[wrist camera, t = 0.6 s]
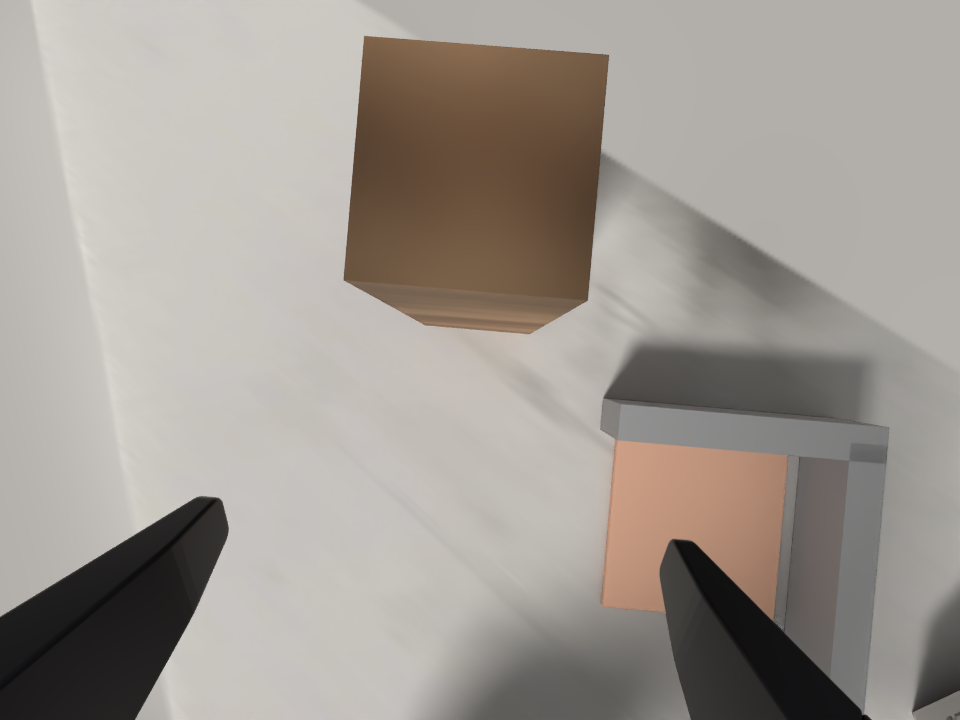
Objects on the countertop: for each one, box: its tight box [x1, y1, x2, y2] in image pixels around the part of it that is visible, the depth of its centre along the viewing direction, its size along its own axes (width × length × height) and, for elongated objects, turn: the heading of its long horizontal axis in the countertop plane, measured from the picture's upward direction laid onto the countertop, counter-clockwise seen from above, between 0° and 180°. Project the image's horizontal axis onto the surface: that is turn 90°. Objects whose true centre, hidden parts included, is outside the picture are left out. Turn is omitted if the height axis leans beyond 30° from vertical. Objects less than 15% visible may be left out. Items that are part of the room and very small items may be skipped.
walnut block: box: [344, 36, 609, 334], centre depth 16 cm, size 5×5×13 cm
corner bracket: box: [600, 398, 889, 715], centre depth 21 cm, size 14×11×3 cm
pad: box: [601, 439, 788, 622], centre depth 22 cm, size 8×8×1 cm
